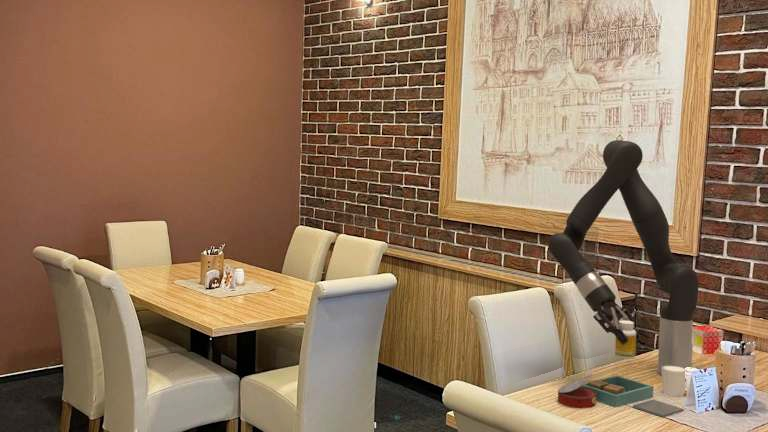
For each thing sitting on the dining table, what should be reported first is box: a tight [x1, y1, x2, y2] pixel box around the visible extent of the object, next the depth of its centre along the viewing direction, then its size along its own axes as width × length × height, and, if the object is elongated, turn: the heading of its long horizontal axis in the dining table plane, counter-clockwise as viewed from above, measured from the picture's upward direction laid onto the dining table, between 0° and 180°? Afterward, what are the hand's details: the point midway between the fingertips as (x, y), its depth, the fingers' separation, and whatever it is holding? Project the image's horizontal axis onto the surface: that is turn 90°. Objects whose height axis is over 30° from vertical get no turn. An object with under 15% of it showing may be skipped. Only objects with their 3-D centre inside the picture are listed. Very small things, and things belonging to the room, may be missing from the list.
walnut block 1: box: [586, 379, 609, 390], centre depth 203 cm, size 4×4×4 cm
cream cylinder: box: [661, 366, 686, 397], centre depth 208 cm, size 7×7×7 cm
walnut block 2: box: [603, 384, 625, 395], centre depth 200 cm, size 4×4×4 cm
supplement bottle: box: [614, 319, 637, 360], centre depth 205 cm, size 5×5×10 cm
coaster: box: [631, 399, 685, 418], centre depth 194 cm, size 9×9×1 cm
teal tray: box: [580, 374, 654, 408], centre depth 204 cm, size 16×12×3 cm
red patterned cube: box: [692, 325, 724, 355], centre depth 256 cm, size 8×8×8 cm
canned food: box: [557, 373, 597, 409], centre depth 198 cm, size 11×10×10 cm
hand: (631, 340), depth 204 cm, fingers closed on supplement bottle, 5 cm apart
